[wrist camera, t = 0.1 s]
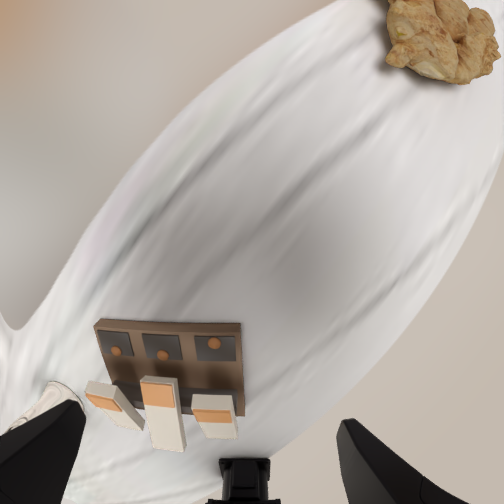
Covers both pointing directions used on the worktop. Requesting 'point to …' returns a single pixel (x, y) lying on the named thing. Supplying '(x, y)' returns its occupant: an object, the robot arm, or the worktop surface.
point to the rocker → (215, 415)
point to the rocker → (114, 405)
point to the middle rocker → (163, 412)
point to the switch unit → (174, 358)
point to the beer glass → (46, 402)
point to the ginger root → (441, 39)
